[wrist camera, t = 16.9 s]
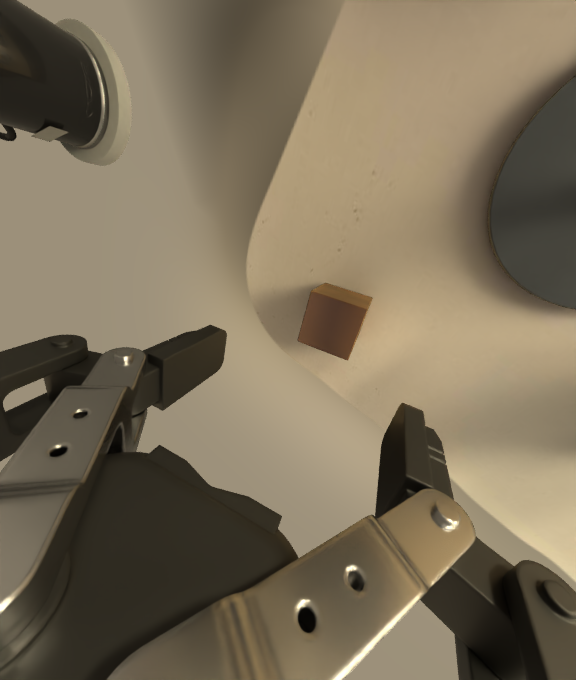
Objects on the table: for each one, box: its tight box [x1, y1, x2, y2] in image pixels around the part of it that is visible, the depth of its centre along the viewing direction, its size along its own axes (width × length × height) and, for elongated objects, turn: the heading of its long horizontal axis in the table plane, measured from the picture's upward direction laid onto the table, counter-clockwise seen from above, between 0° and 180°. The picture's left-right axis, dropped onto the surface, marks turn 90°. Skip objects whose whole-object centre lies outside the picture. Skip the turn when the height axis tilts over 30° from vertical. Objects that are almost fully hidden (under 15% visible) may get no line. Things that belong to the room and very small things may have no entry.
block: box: [298, 283, 372, 360], centre depth 22 cm, size 4×4×4 cm
